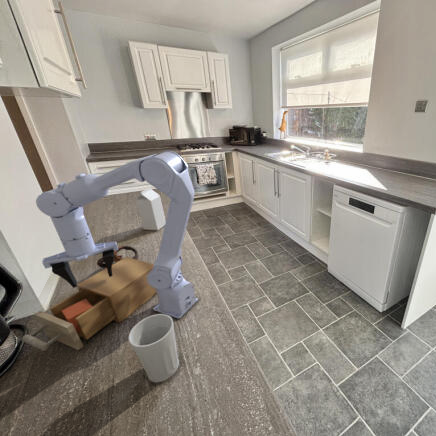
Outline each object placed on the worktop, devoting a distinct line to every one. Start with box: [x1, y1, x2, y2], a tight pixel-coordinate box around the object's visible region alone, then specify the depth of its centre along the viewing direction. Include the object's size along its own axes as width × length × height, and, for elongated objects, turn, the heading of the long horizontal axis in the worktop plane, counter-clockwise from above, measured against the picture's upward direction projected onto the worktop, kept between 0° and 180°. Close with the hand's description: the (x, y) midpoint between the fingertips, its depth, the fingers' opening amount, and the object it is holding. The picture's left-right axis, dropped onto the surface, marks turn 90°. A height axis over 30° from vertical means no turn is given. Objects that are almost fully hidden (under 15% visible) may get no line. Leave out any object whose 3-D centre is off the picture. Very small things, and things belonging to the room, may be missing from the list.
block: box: [61, 299, 93, 333], centre depth 61 cm, size 5×5×5 cm
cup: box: [128, 313, 180, 383], centre depth 51 cm, size 8×8×12 cm
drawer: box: [20, 289, 116, 351], centre depth 60 cm, size 18×11×7 cm, turn 161°
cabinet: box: [76, 256, 157, 323], centre depth 71 cm, size 15×13×9 cm
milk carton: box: [135, 186, 166, 231], centre depth 112 cm, size 7×7×19 cm
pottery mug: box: [96, 245, 139, 269], centre depth 86 cm, size 12×10×8 cm
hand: (93, 279), depth 64 cm, fingers open, 7 cm apart
